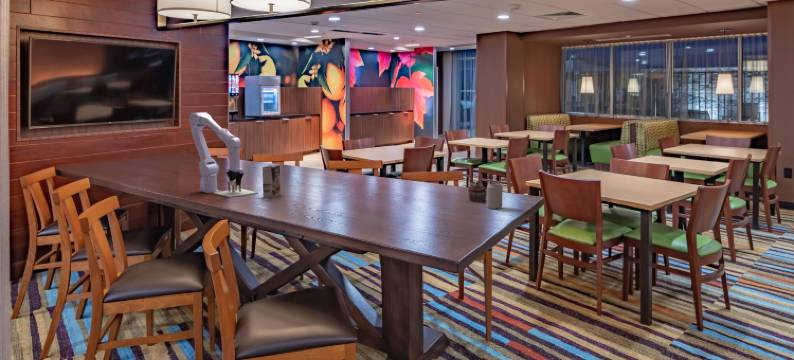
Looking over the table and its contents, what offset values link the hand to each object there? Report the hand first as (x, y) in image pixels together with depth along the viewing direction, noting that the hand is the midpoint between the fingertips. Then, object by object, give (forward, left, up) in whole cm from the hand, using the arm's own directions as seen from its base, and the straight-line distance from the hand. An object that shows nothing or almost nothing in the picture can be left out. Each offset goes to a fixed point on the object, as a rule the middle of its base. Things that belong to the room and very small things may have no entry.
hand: (235, 184), depth 305 cm
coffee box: (+21, +10, -5) cm, 23 cm away
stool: (0, -1, -4) cm, 4 cm away
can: (+124, +66, -5) cm, 140 cm away
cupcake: (+108, +75, -5) cm, 131 cm away
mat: (0, 0, -5) cm, 5 cm away
